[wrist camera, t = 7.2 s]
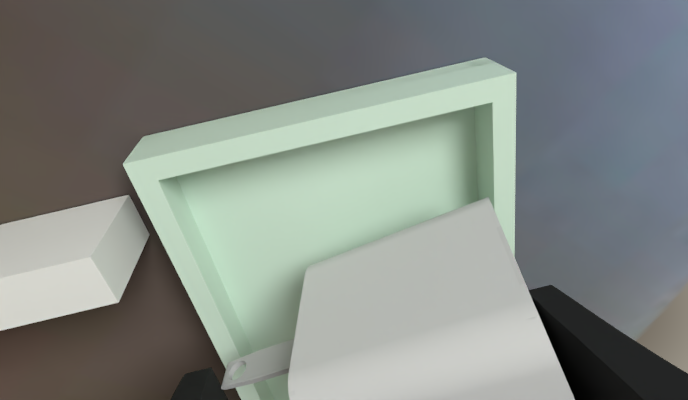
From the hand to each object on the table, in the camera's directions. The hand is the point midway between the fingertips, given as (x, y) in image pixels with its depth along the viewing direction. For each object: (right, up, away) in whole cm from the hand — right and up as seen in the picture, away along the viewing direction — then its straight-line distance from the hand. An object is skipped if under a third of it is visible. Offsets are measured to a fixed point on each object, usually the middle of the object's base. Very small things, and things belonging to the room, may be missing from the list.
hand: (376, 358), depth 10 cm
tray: (0, +1, +3) cm, 3 cm away
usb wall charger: (0, +1, +1) cm, 2 cm away
